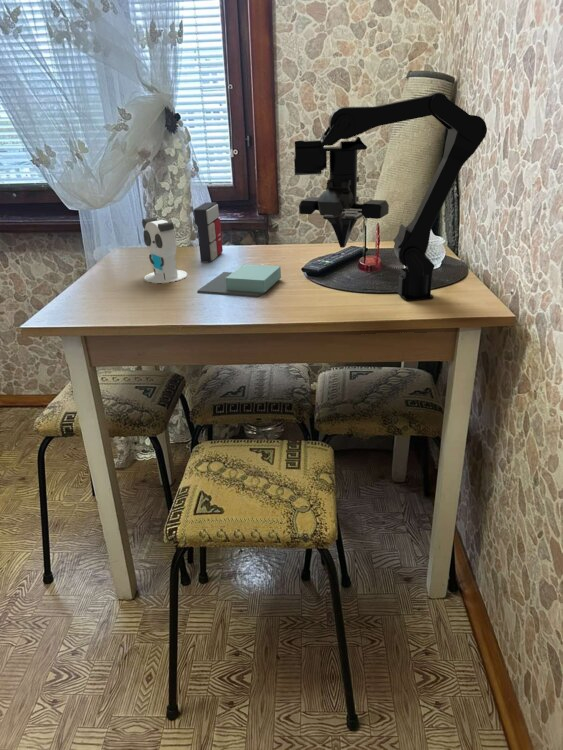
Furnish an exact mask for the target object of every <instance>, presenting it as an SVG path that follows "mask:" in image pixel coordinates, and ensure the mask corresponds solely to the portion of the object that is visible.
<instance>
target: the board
mask: <svg viewBox="0 0 563 750" xmlns="http://www.w3.org/2000/svg"><path fill="white" fill-rule="evenodd" d="M281 278H282V270H281V266H280V265H279V266H278V265H265V264H264V265H263V264H262V265H261V264H247V263H246V264H245V263H244V264H242V265H241V266H240V267H239V268H237V269H235V270H234V271H233V273H232V274H230V275H229V276H227V277H226V289H227V290H236V291H250V292H263V294H264V293H266V292H267V291H268V290H269V289H271V288H272V287H273V286H274V285H275V284H276V283H277V282H279V280H281Z"/></svg>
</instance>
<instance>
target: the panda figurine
mask: <svg viewBox="0 0 563 750" xmlns="http://www.w3.org/2000/svg"><path fill="white" fill-rule="evenodd" d="M141 224H142V228H143V229H144V230H143V241H144V245H145V246H146V248H147V250H148V252H149V261H150V263H151V264H152V267H153V272H150V273H148V274H146V275H145V276H144V281H145V280H146V281H145V282H147V283H149V282H152V283H151V284H157V283H162V284H170V283H169V282H172V283H176V282H175V281H177V282H180V281H183V280H185V279H186V278H187V277H188V272H186V271H185V270H182V269H181V270H180V269H178V268H177V262H176V261H177V260H176V253H177V249H178V248H177V240H176V234H175V230H174V229H175V226H174V223H173V222H172V221H169V222H168V221H167V220H165V219H158V218H157V217H156V216H154V217H153V216H152V217H148V218H142V220H141ZM184 278H185V279H184ZM182 279H183V280H182ZM179 280H180V281H179Z"/></svg>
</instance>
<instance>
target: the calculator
mask: <svg viewBox="0 0 563 750" xmlns="http://www.w3.org/2000/svg"><path fill="white" fill-rule="evenodd" d="M219 213H220V211H219V204H218V202H214V201H212V202H211V201H210V202H208V201H207V202H203V204H200V205H199V206H197V207H195V208H194V209H193V219H194V224H195V225H196V227H197V236H198V245H199V246H198V247H199V248H198V249H199V256H200V262H201V263H212V262H213V261H214V260H216V259H217V257H219V255H221V253H223V238H222V228H221V219H220V218H219V217H220V214H219Z"/></svg>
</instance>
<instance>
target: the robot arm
mask: <svg viewBox="0 0 563 750" xmlns="http://www.w3.org/2000/svg"><path fill="white" fill-rule="evenodd" d="M430 116H432V117H433V118H435V120H437V121H438V122H439V123H440V124H441V125H442V126H443V127H444V128H446V129H447V130H448V133H447V136H446V139H445V143H444V144H445V145H444V150H443V151H444V152H443V154H442V159H441V161H440V163H439V164H438V167H437V170H436V172H435V173H434V175H433V177H432V180H431V182H430V183H429V186H428V188H427V190H426V192H425V194H424V196H423V198H422V199H421V202H420V205H419V207H418V209H417V211H416V213H415V215H414V218H413V219H412V220H411V221H410V222H409V224H408V225H407V226H405V225H404V224H400V226H399V228H398V232H397V235H396V236H395V237H394V238H393V240H392V242H393V243H394V244H393V252H394V255H395V256H396V258H397V259H398V261H399V262H400V263H401V265H403V266H404V267H403V268H400V269H401V270H400V274H399V275H398V280H397V281H398V282H397V283H398V284H397V285H398V287H397V293H398V295H399V296H401V297H402V298H403V299H404V301H406V302H407V301H408V302H409V301H418V300H420V301H421V300H430V299H432V300H433V299H434V295H433V294H431V293H432V283H433V271H434V268H435V263H433V262H432V260H431V259H430V258H429V257H428V256H427V254H426V253H427V250H428V247H429V243H430V237H431V230H432V228H433V226H434V224H435V221H436V220H437V218H438V216H439V214H440V213H441V209H442V207H443V206H444V203H445V202H446V199H447V197H448V196H449V193H450V191H451V189H452V187H453V185H454V183H455V181H456V180H457V177H458V175H459V173H460V171H461V169H462V167H463V166H464V164H465V163H466V162H467V161H468V160H469V159H470V158H471V157H472V156H473V154H475V152H476V151H477V150H478V148H479V146H480V145H481V144H482V143H483V141H484V140H485V138H486V135H487V132H488V127H487V123H486V121H485V120H484V119H483V118H482V117H481V116H479V115H474V114H470V113H468V112H466V111H465V110H464V109H463V108H461V107H460V106H459V105H458V104H456V103H455V102H453V101H452V100H450V99H449V98H448V96H446V94H444V93H441V92H432V93H430V94H427V95H423V96H419V97H413V98H408V99H404V100H399V101H394V102H390V103H385V104H379V105H375V106H339V107H337V108H335V109H334V110H333V111H332V112H331V114H330V116H329V118H328V127H327V128H326V129H325V131H324V133H323V134H321V137H320V139H315V140H314V139H312V140H302V139H295V140H294V157H293V161H294V162H293V163H294V176H308V175H309V176H312V175H314V176H315V175H322V171H324V170H327V162H328V161H327V160H328V159H327V158H328V157H327V152H329V179H327V180H326V181H327V182H326V188H325V190H324V191H323V192H322V193H321V194H320V196H309V197H307V198H305V199H302V200H301V201H300V202H299V205H298V213H299V214H300V215H309V216H310V215H311V216H312V215H313V214H314V212H316V211H319V215H320V216H322V219H323V220H326V221H328V222H329V224H331V227H332V228H333V229H332V230H333V231H334V233H335V236H336V239H337V242H338V244H339V247H340V248H345V247H346V246H347V243H348V241H349V238H350V236H351V233H352V231H353V229H354V227H355V225H356V223H357V221H358V219H361V218H362V217H363V218H364V219H373V220H374V219H375V220H377V219H379V220H380V219H381V218H384V217H386V216H387V215H388V214H389V210H390V209H389V208H390V207H389V203H388V201H387V200H383V199H382V200H381V199H380V200H379V199H369V200H367V201H366V202H364V203H358V202H359V196H358V195H357V194H358V193H357V191H358V190H357V187H358V185H357V184H358V183H359V182H360V176H358V151H363V150H364V151H365V150H368V149H367V148H368V146H367V145H366V144H365V143H364V142H363V141H362V139H361V137H360V136H358V135H361V134H364V133H366V132H367V131H370V130H372V129H374V128H377V127H380V126H381V127H382V126H385V125H391V124H394V123H395V124H396V123H401V122H406V121H411V120H414V119H415V120H416V119H421V118H424V117H430ZM356 136H357V137H356ZM353 137H356V138H355V139H354V140H349V141H348V140H347V139H351V138H353ZM340 140H343V141H340ZM344 140H345V141H344ZM346 140H347V141H346ZM339 141H340V143H339V146H334V145H335V144H336V143H338V142H339Z"/></svg>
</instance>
